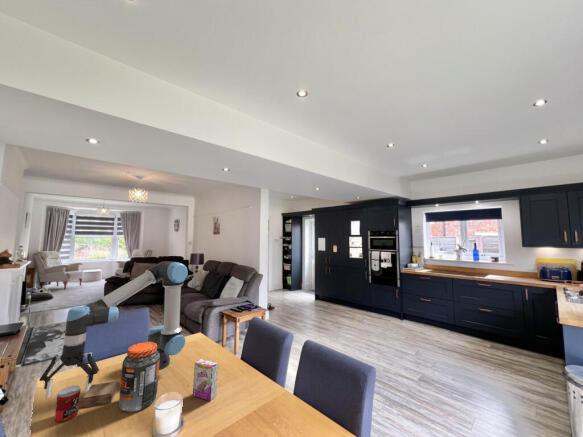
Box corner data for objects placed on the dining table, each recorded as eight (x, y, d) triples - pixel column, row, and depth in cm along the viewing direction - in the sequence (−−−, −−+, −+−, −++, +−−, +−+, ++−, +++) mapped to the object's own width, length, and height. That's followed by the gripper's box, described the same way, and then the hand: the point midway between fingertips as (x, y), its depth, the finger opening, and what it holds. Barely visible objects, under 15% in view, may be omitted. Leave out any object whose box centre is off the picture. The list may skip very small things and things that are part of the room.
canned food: (64, 424, 103) (67, 396, 104) (49, 421, 105) (52, 394, 106) (82, 412, 111) (85, 386, 112) (68, 409, 112) (71, 384, 113)
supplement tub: (117, 399, 120) (122, 344, 122) (153, 389, 129) (157, 337, 132) (119, 419, 107) (124, 357, 110) (159, 405, 117) (163, 348, 119)
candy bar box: (191, 396, 124) (194, 362, 126) (198, 391, 129) (200, 358, 130) (210, 402, 120) (212, 367, 122) (216, 396, 125) (218, 362, 127)
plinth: (118, 388, 129) (119, 380, 129) (111, 402, 118) (111, 393, 118) (90, 392, 125) (91, 384, 125) (80, 407, 113) (81, 398, 114)
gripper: (110, 337, 119) (104, 384, 116) (43, 342, 110) (36, 393, 107) (105, 343, 112) (99, 393, 109) (33, 349, 103) (25, 404, 100)
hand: (68, 393), depth 108 cm, fingers open, 13 cm apart
